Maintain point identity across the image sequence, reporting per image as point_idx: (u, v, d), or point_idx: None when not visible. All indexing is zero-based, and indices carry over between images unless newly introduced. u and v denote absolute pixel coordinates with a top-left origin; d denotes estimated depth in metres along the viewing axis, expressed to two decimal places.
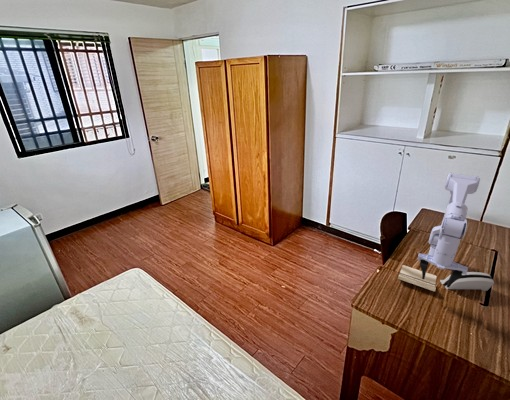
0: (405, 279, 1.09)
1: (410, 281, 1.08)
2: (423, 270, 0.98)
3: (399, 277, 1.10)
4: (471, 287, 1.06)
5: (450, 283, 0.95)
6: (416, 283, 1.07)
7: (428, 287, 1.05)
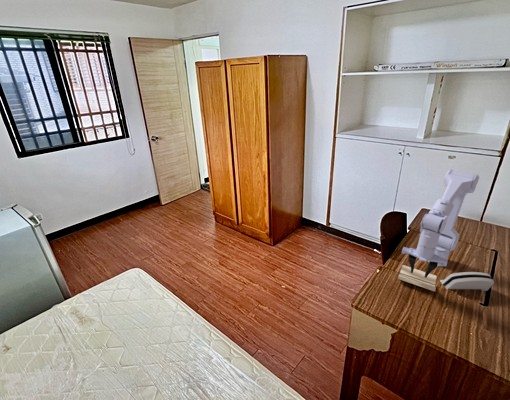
0: (405, 279, 1.09)
1: (410, 281, 1.08)
2: (411, 264, 1.04)
3: (399, 277, 1.10)
4: (471, 287, 1.06)
5: (427, 273, 1.02)
6: (416, 283, 1.07)
7: (428, 287, 1.05)
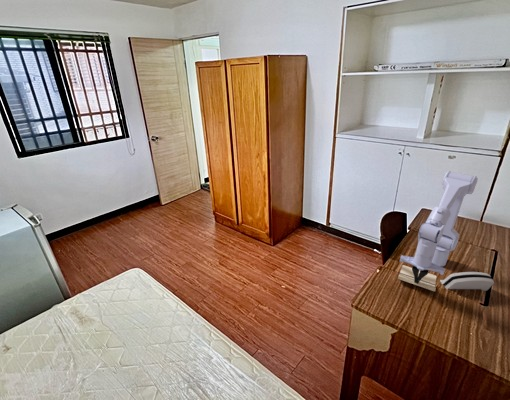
0: (405, 279, 1.09)
1: (410, 281, 1.08)
2: (415, 274, 1.04)
3: (399, 277, 1.10)
4: (471, 287, 1.06)
5: (419, 279, 1.05)
6: (416, 283, 1.07)
7: (428, 287, 1.05)
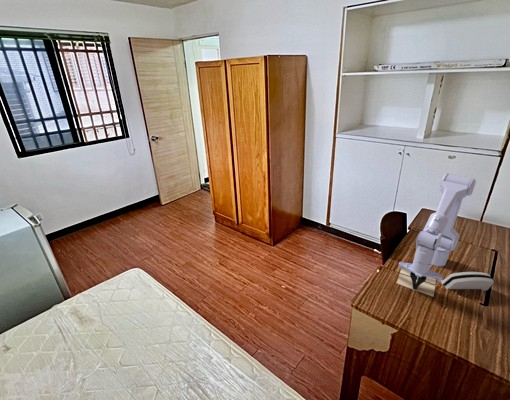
0: None
1: None
2: (413, 281, 1.06)
3: None
4: (471, 287, 1.06)
5: (417, 286, 1.06)
6: None
7: None
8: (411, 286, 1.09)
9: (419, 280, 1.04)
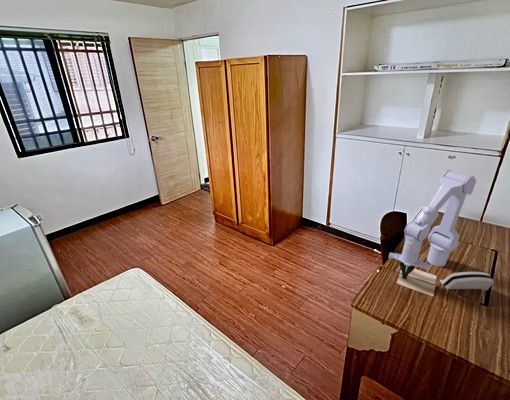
0: None
1: None
2: (402, 270, 1.11)
3: None
4: (471, 287, 1.06)
5: (406, 275, 1.12)
6: None
7: None
8: (411, 286, 1.09)
9: (408, 269, 1.09)
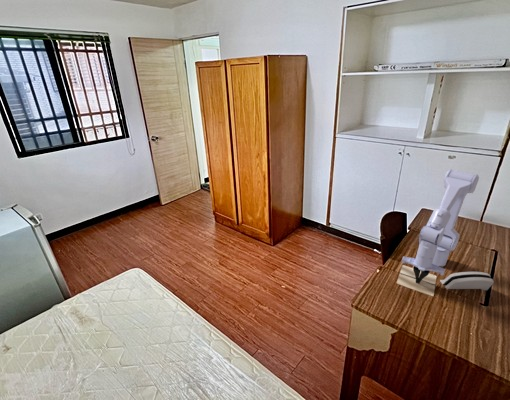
0: None
1: None
2: (416, 275, 1.09)
3: None
4: (471, 287, 1.06)
5: (420, 279, 1.09)
6: None
7: None
8: (411, 286, 1.09)
9: (422, 274, 1.07)
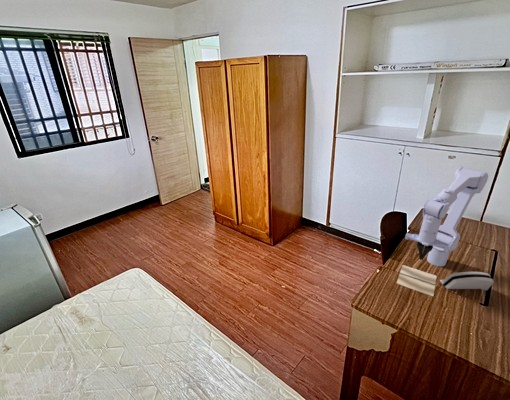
0: None
1: None
2: (420, 250, 1.09)
3: None
4: (471, 287, 1.06)
5: (423, 255, 1.09)
6: None
7: None
8: (411, 286, 1.09)
9: (426, 249, 1.07)
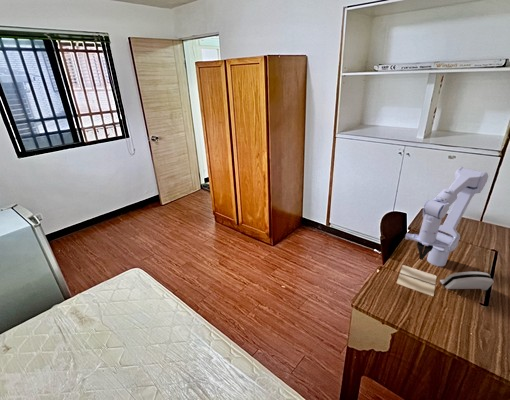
0: None
1: None
2: (420, 250, 1.09)
3: None
4: (471, 287, 1.06)
5: (423, 255, 1.09)
6: None
7: None
8: (411, 286, 1.09)
9: (426, 249, 1.07)
